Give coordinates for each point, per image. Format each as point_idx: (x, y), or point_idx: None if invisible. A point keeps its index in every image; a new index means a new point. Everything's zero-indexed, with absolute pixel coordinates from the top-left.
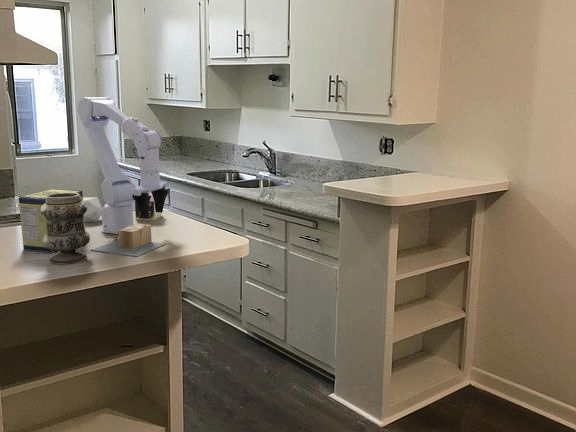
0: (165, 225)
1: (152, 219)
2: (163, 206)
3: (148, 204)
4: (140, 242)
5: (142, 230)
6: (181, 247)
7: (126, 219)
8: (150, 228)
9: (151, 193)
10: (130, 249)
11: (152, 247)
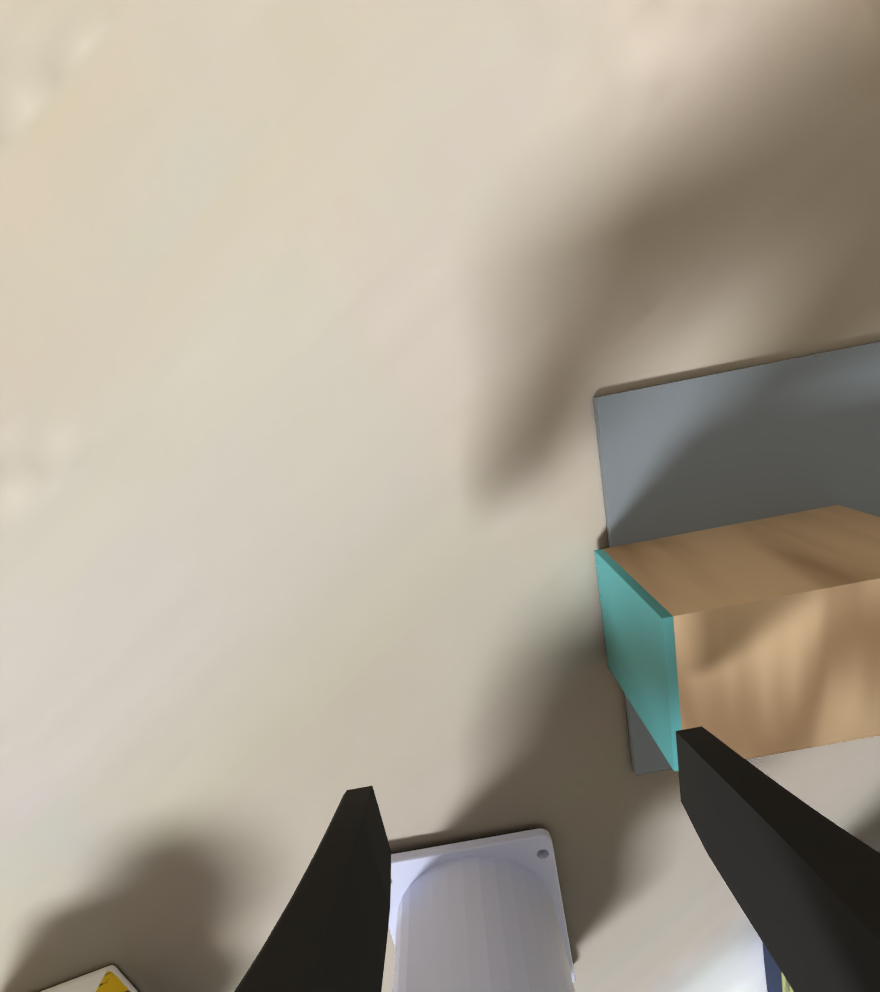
0: (158, 813)
1: (120, 977)
2: (315, 862)
3: (873, 904)
4: (758, 530)
5: (799, 577)
6: (594, 202)
7: (517, 974)
8: (649, 600)
9: None
10: (863, 503)
11: (744, 401)
